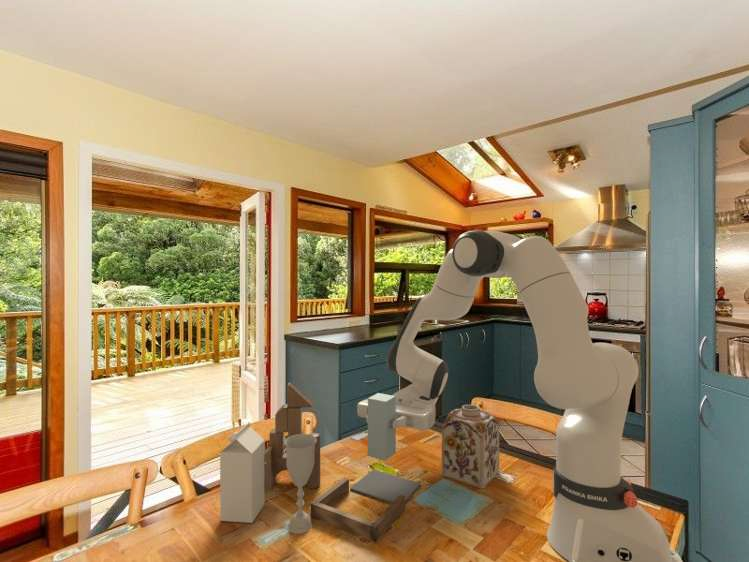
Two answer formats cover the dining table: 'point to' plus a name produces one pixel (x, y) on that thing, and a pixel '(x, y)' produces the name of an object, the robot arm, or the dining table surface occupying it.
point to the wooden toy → (289, 422)
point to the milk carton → (242, 476)
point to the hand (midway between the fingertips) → (380, 422)
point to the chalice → (300, 475)
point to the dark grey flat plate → (385, 486)
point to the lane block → (381, 426)
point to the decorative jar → (470, 446)
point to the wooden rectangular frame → (351, 522)
